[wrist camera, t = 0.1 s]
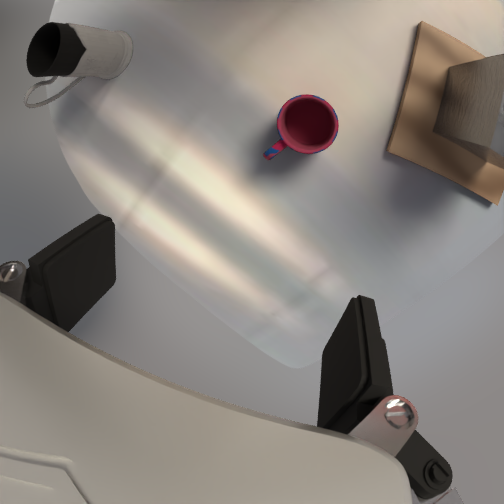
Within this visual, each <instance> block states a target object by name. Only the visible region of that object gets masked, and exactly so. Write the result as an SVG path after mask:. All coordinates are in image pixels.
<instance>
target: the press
mask: <svg viewBox="0 0 504 504" xmlns="http://www.w3.org/2000/svg"><path fill="white" fill-rule="evenodd" d="M433 132H434V133H436V134H438V135H440V136H442V137H444V138H446V139H447V140H449V141H451V142H453V143H455V144H457V145H459V146H460V147H462V148H464V149H466V150H468V151H469V152H471V153H473V154H474V155H476V156H478V157H479V158H481V159H483V160H484V161H486V162H488V163H490V164H493V165H495V166H497V167H499V168H502V169H504V54H501V55H496V56H491V57H486V58H483V59H479V60H475V61H470V62H466V63H462V64H458V65H454V66H450V67H449V69H448V74H447V78H446V83H445V87H444V91H443V95H442V99H441V103H440V107H439V111H438V115H437V118H436V122H435V125H434V129H433Z"/></svg>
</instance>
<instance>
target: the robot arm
mask: <svg viewBox="0 0 504 504" xmlns="http://www.w3.org/2000/svg"><path fill="white" fill-rule="evenodd" d="M28 261H29V265H30V267H29V268H28V269H26V266H25V264H23V263H22V262H19V261H9V262H6V263H3V264H2V265H0V504H464V503H463V501H462V499H461V498H460V496H459V494H458V492H457V490H456V488H453V489H451V487H450V484H451V482H452V470H451V467H450V465H449V464H448V462H447V461H446V460H445V459H444V458H443V457H442V456H441V455H440V454H439V453H438V452H437V451H436V450H435V449H434V448H433V447H432V446H431V445H430V444H429V443H428V442H427V441H426V440H425V439H424V438H423V437H422V436H421V435H420V434H419V433H418V432H417V431H416V430H415V429H416V427H417V425H418V414H417V411H416V409H415V407H414V406H413V405H412V403H411V402H410V401H408V400H407V399H405V398H404V397H401V396H398V395H393V388H392V381H391V374H390V368H389V362H388V356H387V350H386V344H385V341H384V339H382V337H381V332H380V326H379V321H378V316H377V311H376V307H375V302H374V299H371V298H368V297H364V296H361V295H358V296H357V298H354V297H353V298H352V299H351V300H350V302H349V304H348V306H347V308H346V310H345V312H344V313H343V315H342V317H341V319H340V321H339V323H338V325H337V327H336V328H335V330H334V332H333V334H332V336H331V337H330V339H329V341H328V343H327V344H326V346H325V348H324V351H323V354H322V368H321V384H320V398H319V410H318V421H317V427H316V426H312V425H308V424H303V423H299V422H295V421H291V420H287V419H283V418H279V417H276V416H272V415H268V414H265V413H261V412H257V411H254V410H251V409H247V408H244V407H240V406H237V405H234V404H231V403H228V402H225V401H222V400H219V399H215V398H213V397H210V396H207V395H204V394H201V393H199V392H196V391H193V390H190V389H188V388H185V387H183V386H180V385H177V384H175V383H172V382H169V381H167V380H165V379H162V378H160V377H158V376H155V375H153V374H151V373H148V372H146V371H143V370H142V369H139V368H137V367H135V366H132V365H131V364H128V363H126V362H124V361H122V360H120V359H118V358H116V357H114V356H112V355H110V354H108V353H106V352H104V351H102V350H100V349H98V348H96V347H94V346H92V345H90V344H88V343H86V342H85V341H83V340H81V339H79V338H77V337H76V336H74V335H72V334H70V333H68V332H69V331H70V330H71V329H72V328H73V327H74V326H75V324H76V323H77V322H78V321H79V320H80V319H81V318H82V317H83V316H84V315H85V314H86V313H87V312H88V311H89V310H90V309H91V308H92V307H93V305H94V304H95V303H96V302H97V301H98V300H99V299H100V298H101V297H102V296H103V295H104V294H105V293H106V292H107V291H108V290H109V289H110V288H111V287H112V286H113V285H114V283H115V280H116V268H115V267H116V266H115V224H114V223H113V222H112V219H111V218H110V217H107V216H104V215H101V214H97V215H95V216H93V217H92V218H90V219H89V220H87V221H85V222H84V223H82V224H81V225H79V226H77V227H76V228H74V229H73V230H71V231H70V232H68V233H67V234H65V235H63V236H62V237H60V238H59V239H57V240H56V241H54V242H53V243H51V244H50V245H48V246H47V247H46V248H44V249H43V250H41V251H40V252H38V253H37V254H36V255H34V256H33V257H31V258H30V259H29V260H28Z"/></svg>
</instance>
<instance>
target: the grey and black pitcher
mask: <svg viewBox="0 0 504 504" xmlns="http://www.w3.org/2000/svg"><path fill="white" fill-rule="evenodd" d="M132 53H133V43H132V40H131V38H130V36H129V35H128V34H127V33H125V32H123V31H108V30H103V29H99V28H94V27H88V26H83V25H77V24H71V23H65V24H62V23H55V22H50V23H47V24H45V25H43V26H42V27H41V28H40V29H39V30H38V31H37V32H36V34H35V36H34V37H33V38H32V41H31V43H30V45H29V48H28V52H27V68H28V71H29V73H30V74H31V75H32V76H34V77H43V76H44V77H45V76H53V78H52V79H51V80H48V81H42V82H39V83H36V84H35V85H33V86H32V87H31V88H30V89H29V90H28V91H27V93H26V95H25V97H24V103H25V105H26V106H27V107H29V108H35V107H39V106H43V105H45V104H48V103H50V102H52V101H54V100H55V99H57V98H59V97H60V96H62V95H63V94H64V93H66V92H67V91H68V90H69V89H71V88H72V87H73V86H74V85H76V84H77V83H78V82H79V81H81V80H82V79H83V78H85V77H99V78H101V79H112V78H115V77H117V76H118V75H120V74H121V73H122V72H123V71H124V70H125V69H126V67H127V66H128V64H129V62H130V60H131V57H132ZM58 76H62V77H79V78H77V79H76V80H75V81H74V82H72V83H71V84H70V85H69V86H67V87H66V88H65V89H63V90H62V91H61V92H59V93H58V94H56V95H55V96H53V97H51V98H49V99H47V100H45V101H43V102H40V103H36V104H27V99H28V96H29V95H30V93H31V92H32V91H33V90H34V89H36V88H37V87H39V86H41V85H47V84H51V83H53V82H54V81H55V80H56V79H57V77H58Z"/></svg>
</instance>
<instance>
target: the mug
mask: <svg viewBox="0 0 504 504" xmlns="http://www.w3.org/2000/svg"><path fill="white" fill-rule="evenodd" d="M338 126H339V125H338V118H337V115H336V113H335V111H334V109H333V108H332V106H331V105H330V104H329V103H328V102H326V101H325V100H324V99H322V98H320V97H317V96H314V95H299V96H296V97H293V98H291V99H290V100H288V101H287V102H286V103H285V104H284V105H283V106H282V108H281V109H280V112H279V114H278V118H277V128H278V132H279V135H280V137H281V139H280V140H279V141H278V142H277V143H275V144H274V145H273V146H272V147H271V148H269V149H268V150H267V151H266V152H265V153H264V154H263V155H264V157H265V158H266V159H267V160H270V159H272V158H273V157H274V156H276V155H277V154H278V153H279V152H281V151H282V150H283V149H285V148H286V147H287V146H289V147H290V148H291V149H293V150H295V151H297V152H300V153H306V154H313V153H318V152H321V151H323V150H325V149H326V148H328V147H329V146H330V145H331V144H332V143H333V141H334V140H335V138H336V136H337V133H338Z"/></svg>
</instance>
